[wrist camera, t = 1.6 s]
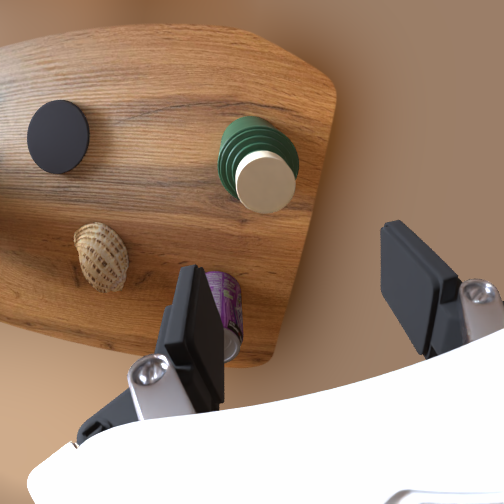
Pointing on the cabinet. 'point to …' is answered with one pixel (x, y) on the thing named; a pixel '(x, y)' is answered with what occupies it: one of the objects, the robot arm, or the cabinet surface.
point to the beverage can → (228, 310)
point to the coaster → (58, 136)
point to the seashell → (102, 256)
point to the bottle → (251, 147)
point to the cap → (264, 182)
